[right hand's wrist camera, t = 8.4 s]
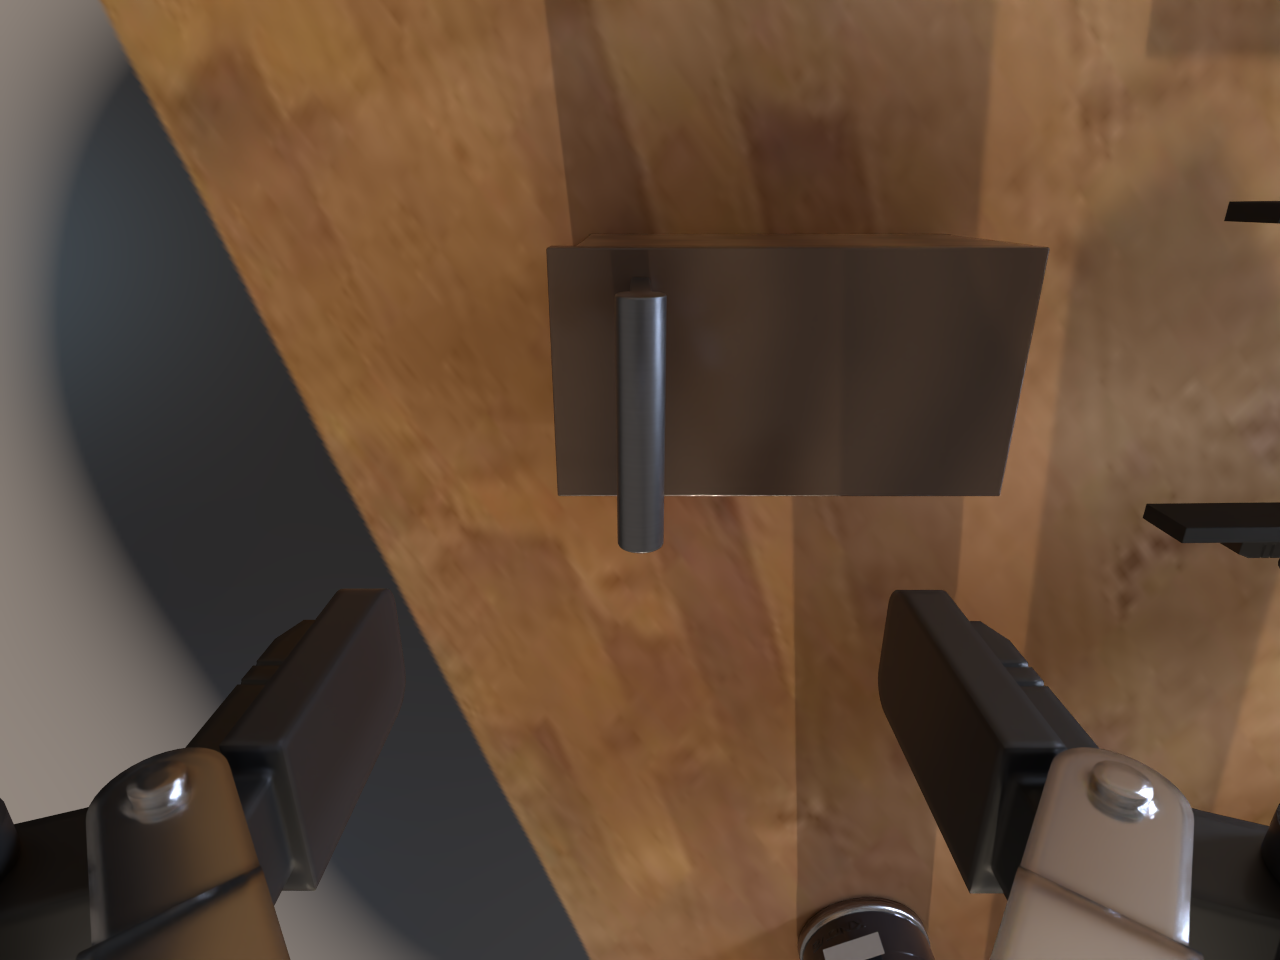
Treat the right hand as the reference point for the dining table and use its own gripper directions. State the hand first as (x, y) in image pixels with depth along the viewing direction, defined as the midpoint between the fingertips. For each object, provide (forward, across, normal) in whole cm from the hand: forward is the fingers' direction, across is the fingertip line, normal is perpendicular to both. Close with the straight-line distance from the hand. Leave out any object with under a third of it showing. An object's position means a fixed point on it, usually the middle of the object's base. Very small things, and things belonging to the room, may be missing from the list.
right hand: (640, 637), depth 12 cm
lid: (+18, -6, 0) cm, 19 cm away
